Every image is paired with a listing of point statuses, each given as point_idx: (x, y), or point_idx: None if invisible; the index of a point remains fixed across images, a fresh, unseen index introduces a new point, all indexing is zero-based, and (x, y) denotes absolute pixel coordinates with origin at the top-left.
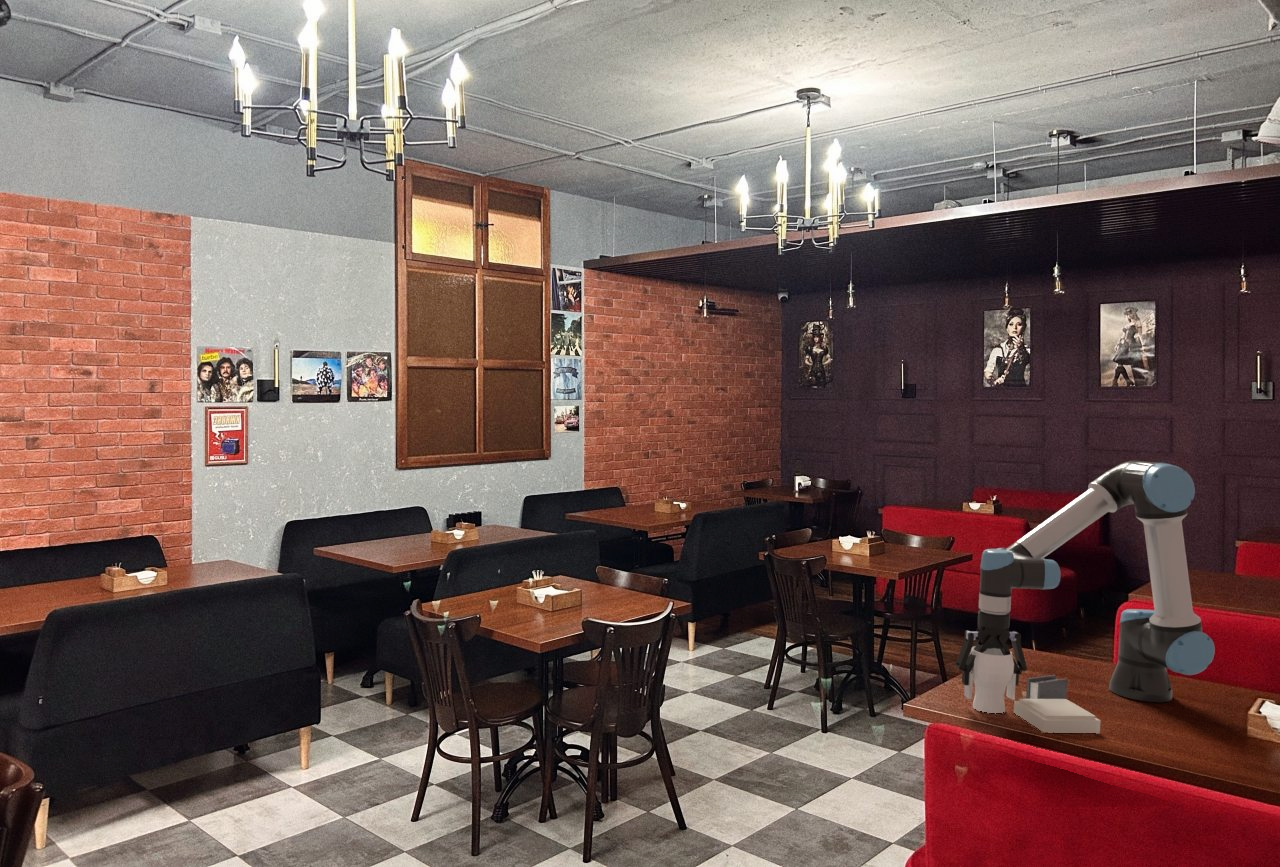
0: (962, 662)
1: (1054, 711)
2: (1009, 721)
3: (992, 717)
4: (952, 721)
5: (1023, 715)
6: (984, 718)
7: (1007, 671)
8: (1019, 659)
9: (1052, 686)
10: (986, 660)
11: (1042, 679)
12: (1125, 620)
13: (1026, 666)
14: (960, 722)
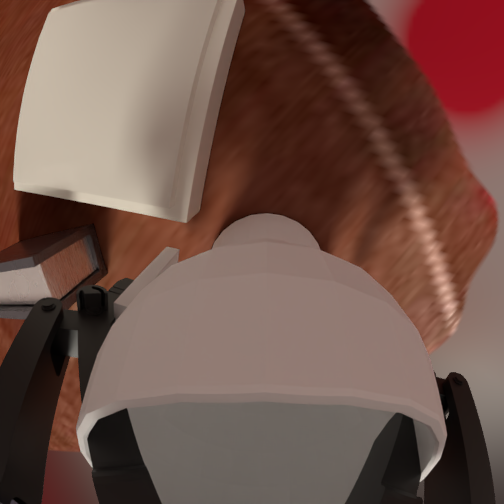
0: (469, 402)
1: (138, 32)
2: (282, 136)
3: (318, 190)
4: (466, 198)
5: (210, 137)
6: (356, 189)
7: (240, 253)
8: (43, 361)
9: (7, 256)
10: (433, 378)
11: (15, 307)
12: None
13: (32, 309)
14: (454, 183)
